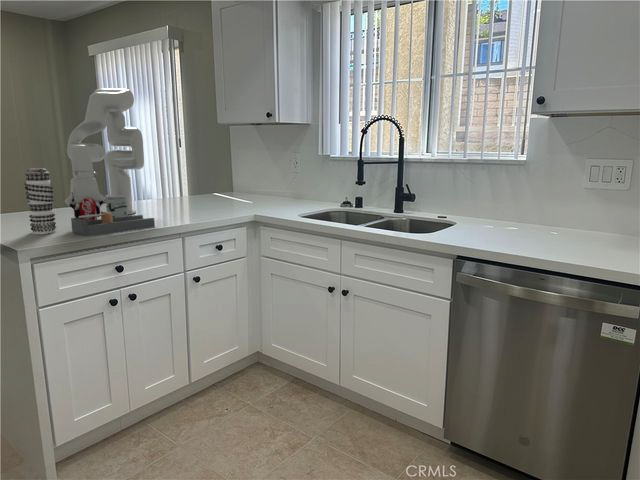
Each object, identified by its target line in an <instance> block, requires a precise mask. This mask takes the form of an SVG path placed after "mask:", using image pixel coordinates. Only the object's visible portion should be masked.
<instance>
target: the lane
mask: <svg viewBox="0 0 640 480" xmlns="http://www.w3.org/2000/svg"><path fill="white" fill-rule="evenodd" d="M70 221H71V232H72V233H75V234H77V235H79V236H83V237H89V236H96V235H103V234H112V233H118V232H119V233H120V232H126V231H133V230H141V229H149V228H150V229H151V228H155V227H156V225H155V217H149V218H144V216H143V215H142V214H139V215H138V214H137V215H130V216H129V215H128V216H127V217H118V218H113V222H112V223H104V224H102V220H101V218H100V219H97V220H90V221H86V220H83V219H79V218H76V217H71V218H70Z"/></svg>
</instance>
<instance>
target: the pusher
mask: <svg viewBox="0 0 640 480" xmlns="http://www.w3.org/2000/svg"><path fill="white" fill-rule="evenodd" d="M95 216H100V219H101V220H102V224H104V223H112V222H113V217H112V213H109V212H107V211H104V210H102V211H101V210H100V214H95V215H85V216H79V218H85V217H95Z"/></svg>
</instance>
